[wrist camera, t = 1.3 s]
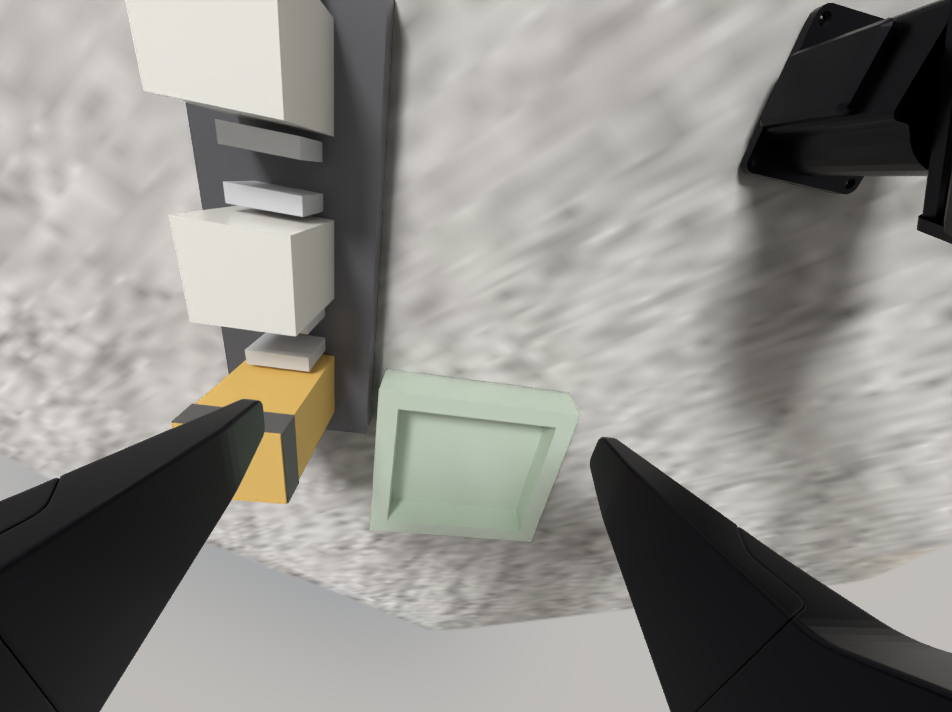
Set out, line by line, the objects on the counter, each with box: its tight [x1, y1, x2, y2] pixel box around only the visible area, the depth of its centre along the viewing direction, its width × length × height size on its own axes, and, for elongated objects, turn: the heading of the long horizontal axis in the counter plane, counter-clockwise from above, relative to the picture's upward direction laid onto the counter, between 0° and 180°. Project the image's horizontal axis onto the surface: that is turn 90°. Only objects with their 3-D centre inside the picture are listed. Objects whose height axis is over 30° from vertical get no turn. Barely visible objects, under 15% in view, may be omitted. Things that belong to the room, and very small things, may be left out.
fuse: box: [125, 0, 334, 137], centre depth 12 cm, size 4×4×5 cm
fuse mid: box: [168, 205, 334, 336], centre depth 15 cm, size 4×4×5 cm
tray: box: [370, 369, 580, 542], centre depth 25 cm, size 12×12×2 cm
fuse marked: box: [172, 354, 335, 504], centre depth 18 cm, size 4×4×7 cm
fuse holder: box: [186, 0, 394, 433], centre depth 17 cm, size 8×22×4 cm, turn 170°
